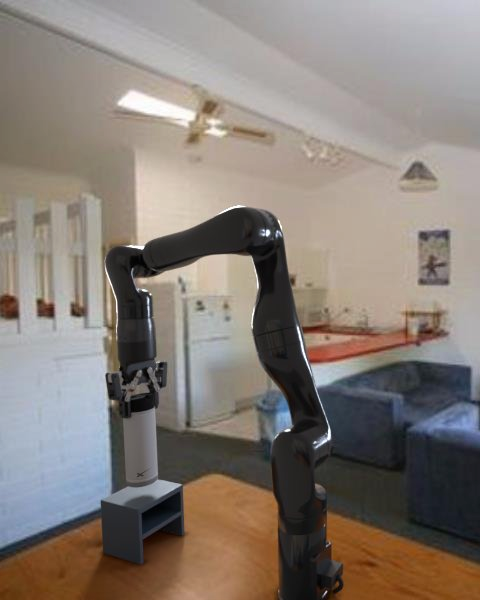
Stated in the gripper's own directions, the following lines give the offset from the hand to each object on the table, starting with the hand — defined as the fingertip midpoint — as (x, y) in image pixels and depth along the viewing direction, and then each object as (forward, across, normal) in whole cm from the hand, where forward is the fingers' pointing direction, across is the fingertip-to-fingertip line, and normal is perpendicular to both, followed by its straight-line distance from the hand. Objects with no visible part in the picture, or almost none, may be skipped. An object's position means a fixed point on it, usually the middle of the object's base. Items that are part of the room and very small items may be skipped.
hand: (140, 412), depth 105 cm
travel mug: (+16, 0, 0) cm, 16 cm away
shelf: (+30, 0, 0) cm, 30 cm away
